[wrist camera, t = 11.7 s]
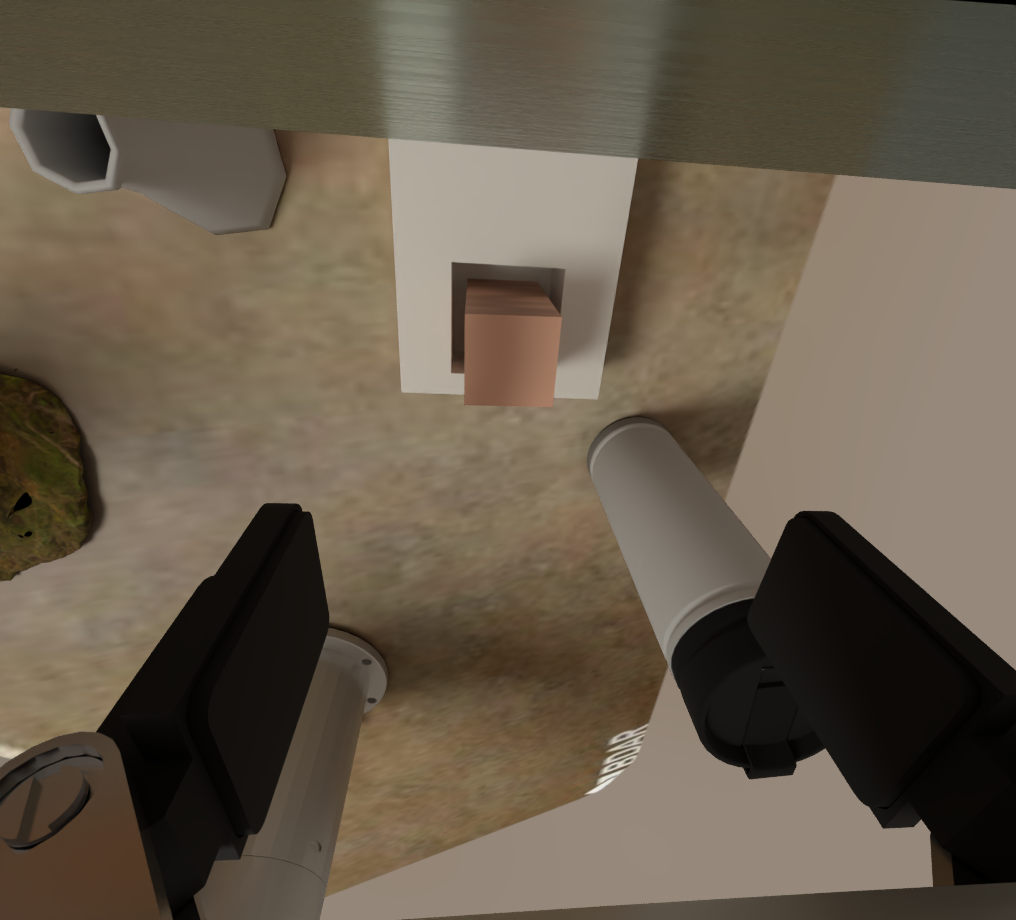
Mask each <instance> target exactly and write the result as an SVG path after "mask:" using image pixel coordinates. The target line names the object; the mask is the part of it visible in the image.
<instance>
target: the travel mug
mask: <svg viewBox="0 0 1016 920" xmlns="http://www.w3.org/2000/svg"><path fill="white" fill-rule="evenodd" d="M587 465H588V470H589V473H590V476H591V478H592V481H593V483H594V485H595V488H596V490H597V493H598V495H599V498H600V500H601V503H602V505H603V508H604V510H605V513H606V515H607V517H608V520H609V522H610V525H611V527H612V530H613V532H614V535H615V537H616V539H617V542H618V544H619V547H620V549H621V552H622V554H623V557H624V559H625V561H626V564H627V566H628V569H629V571H630V574H631V576H632V579H633V581H634V583H635V586H636V588H637V591H638V593H639V596H640V598H641V601H642V603H643V605H644V608H645V610H646V613H647V615H648V618H649V620H650V623H651V625H652V628H653V630H654V632H655V635H656V637H657V640H658V642H659V645H660V647H661V650H662V652H663V654H664V657H665V659H666V660H667V663H668V666H669V669H670V671H671V674H672V676H673V677H674V679H675V680H676V682H677V685H678V687H679V689H680V690H681V694H682V697H683V699H684V702H685V705H686V707H687V709H688V712H689V714H690V716H691V719H692V722H693V724H694V726H695V729H696V731H697V733H698V736H699V739H700V741H701V742H702V744H703V745H704V747H705V748H706V750H707V751H708V752H710V753H711V754H712V755H713V756H714V757H716V758H717V759H719V760H721V761H723V762H725V763H727V764H730V765H733V766H737V767H743V769H744V771H745V773H746V775H747V777H748V778H749V779H758V778H767V777H777V776H787V775H793V773H794V770H795V768H796V762H797V761H801V760H803V759H806V758H808V757H810V756H813V755H815V754H816V753H818V752H820V751H822V750H823V749H825V747H824V745H823V743H822V742H821V740H820V739H819V737H818V736H817V734H816V732H815V731H814V729H813V728H812V726H811V725H810V723H809V721H808V720H807V718H806V717H805V715H804V714H803V712H802V710H801V709H800V707H799V706H798V704H797V703H796V701H795V699H794V698H793V696H792V695H791V693H790V692H789V690H788V689H787V687H786V685H785V684H784V682H783V681H782V679H781V678H780V676H779V674H778V673H777V671H776V670H775V668H774V667H773V665H772V663H771V662H770V660H769V659H768V657H767V656H766V654H765V652H764V651H763V649H762V648H761V646H760V645H759V643H758V641H757V640H756V638H755V637H754V635H753V634H752V632H751V630H750V628H749V625H748V619H747V617H748V612H749V609H750V607H751V604H752V602H753V600H754V598H755V595H756V593H757V591H758V588H759V586H760V584H761V581H762V579H763V577H764V575H765V572H766V570H767V568H768V565H769V563H770V561H771V558H770V557H769V556H768V554H767V553H766V552H765V551H764V550H763V549H762V547H761V546H760V545H759V543H758V542H757V541H756V540H755V538H754V537H753V536H752V535H751V534H750V532H749V531H748V530H747V529H746V527H745V526H744V525H743V524H742V522H741V521H740V520H739V519H738V518H737V516H736V515H735V514H734V512H733V511H732V510H731V509H730V508H729V506H728V505H727V504H726V503H725V501H724V500H723V499H722V498H721V496H720V495H719V494H718V493H717V491H716V490H715V489H714V488H713V486H712V485H711V484H710V483H709V482H708V480H707V479H706V478H705V477H704V475H703V474H702V473H701V472H700V470H699V469H698V468H697V467H696V465H695V464H694V463H693V462H692V461H691V459H690V458H689V457H688V456H687V454H686V453H685V452H684V451H683V449H682V448H681V447H680V446H679V444H678V443H677V442H676V441H675V440H674V438H673V437H672V436H671V435H670V433H669V432H668V431H667V430H666V429H665V427H664V426H662V425H661V424H659V423H658V422H656V421H654V420H651V419H647V418H642V417H633V418H627V419H623V420H620V421H617V422H615V423H613V424H611V425H610V426H608V427H607V428H605V429H604V430H603V431H602V432H601V433H600V434H599V435H598V436H597V437H596V438H595V440H594V441H593V443H592V445H591V447H590V450H589V452H588V458H587Z"/></svg>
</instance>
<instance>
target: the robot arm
mask: <svg viewBox="0 0 1016 920" xmlns="http://www.w3.org/2000/svg"><path fill="white" fill-rule="evenodd" d="M747 619H748V625H749V628H750V630H751V632H752V634H753V635H754V637H755V638H756V640H757V641H758V643H759V645H760V646H761V648H762V649H763V651H764V652H765V654H766V656H767V657H768V659H769V660H770V662H771V663H772V665H773V667H774V668H775V670H776V671H777V673H778V674H779V676H780V678H781V679H782V681H783V682H784V684H785V685H786V687H787V689H788V690H789V692H790V693H791V695H792V696H793V698H794V699H795V701H796V703H797V704H798V706H799V707H800V709H801V710H802V712H803V714H804V715H805V717H806V718H807V720H808V721H809V723H810V725H811V726H812V728H813V729H814V731H815V732H816V734H817V736H818V737H819V739H820V740H821V742H822V743H823V745H824V747H825V748H826V750H827V751H828V753H829V754H830V756H831V757H832V759H833V761H834V762H835V764H836V765H837V767H838V768H839V770H840V772H841V773H842V775H843V776H844V778H845V779H846V781H847V783H848V784H849V786H850V787H851V789H852V790H853V792H854V794H855V795H856V796H857V797H858V799H859V800H860V801H861V802H863V804H865V805H867V806H869V807H870V809H871V811H872V812H873V814H874V815H875V817H876V818H877V820H878V821H879V823H880V824H881V826H882V828H902V827H903V828H904V827H914V826H915V825H916V824H917V823H918V822H919V821H920V820H921V819H922V821H923V822H924V823H925V825H926V826H927V828H928V829H929V830H930V831H931V834H930V841H931V858H932V875H933V887H922V888H904V889H886V890H868V891H849V892H832V893H815V894H800V895H781V896H764V897H748V898H731V899H715V900H698V901H682V902H666V903H649V904H634V905H616V906H600V907H586V908H570V909H555V910H540V911H524V912H511V913H494V914H480V915H464V916H449V917H433V918H419V919H405V920H1016V670H1015V669H1013V668H1012V667H1011V666H1010V665H1009V664H1008V663H1007V662H1005V661H1004V660H1003V659H1002V658H1001V657H1000V656H999V655H997V654H996V653H995V652H994V651H993V650H992V649H990V647H988V646H987V645H986V644H985V643H984V642H982V641H981V640H980V639H979V638H978V637H977V636H976V635H975V634H973V633H972V632H971V631H970V630H969V629H968V628H967V627H966V626H964V625H963V624H962V623H961V622H960V621H959V620H958V619H956V618H955V617H954V616H953V615H952V614H951V613H950V612H948V611H947V610H946V609H945V608H944V607H943V606H941V605H940V604H939V603H938V602H937V601H936V600H935V599H934V598H932V597H931V596H930V595H929V594H928V593H926V591H924V590H923V589H922V588H921V587H920V586H919V585H918V584H916V583H915V582H914V581H913V580H912V579H911V578H910V577H908V576H907V575H906V574H905V573H904V572H903V571H902V570H900V569H899V568H898V567H897V566H896V565H895V564H894V563H892V562H891V561H890V560H889V559H888V558H887V557H886V556H884V555H883V554H882V553H881V552H880V551H879V550H878V549H876V548H875V547H874V546H873V545H872V544H871V543H870V542H868V541H867V540H866V539H865V538H864V537H863V536H862V535H860V534H859V533H858V532H857V531H856V530H855V529H853V527H851V526H850V525H849V524H848V523H847V522H845V520H843V519H842V518H841V517H840V516H839V515H837V514H836V513H834V512H829V511H802V512H799V513H798V514H796V515H795V517H794V518H792V519H791V520H789V521H788V523H787V524H786V526H785V529H784V531H783V533H782V536H781V538H780V540H779V542H778V545H777V547H776V549H775V552H774V554H773V556H772V559H771V561H770V563H769V565H768V568H767V570H766V572H765V575H764V577H763V579H762V581H761V584H760V586H759V588H758V591H757V593H756V595H755V598H754V600H753V602H752V604H751V607H750V609H749V612H748V617H747ZM387 681H388V670H387V667H386V664H385V662H384V660H383V658H382V657H381V655H380V654H379V653H378V652H377V651H376V650H375V649H374V648H373V647H372V646H371V645H370V644H368V643H367V642H365V641H363V640H362V639H360V638H358V637H356V636H354V635H352V634H349V633H347V632H344V631H340V630H337V629H333V628H329V611H328V605H327V599H326V594H325V588H324V582H323V576H322V570H321V565H320V559H319V553H318V547H317V541H316V536H315V530H314V524H313V518H312V515H311V513H310V512H302V508H301V506H300V505H299V504H288V503H266V504H264V505H263V506H262V507H261V508H260V509H259V511H258V512H257V514H256V515H255V517H254V518H253V520H252V521H251V523H250V524H249V525H248V527H247V528H246V530H245V531H244V533H243V534H242V536H241V537H240V539H239V540H238V542H237V543H236V545H235V546H234V547H233V549H232V550H231V552H230V553H229V555H228V556H227V558H226V559H225V561H224V562H223V564H222V565H221V567H220V568H219V569H218V571H217V572H216V574H215V575H214V576H210V577H208V578H206V579H205V580H204V581H203V582H202V583H201V584H200V585H199V586H198V588H197V589H196V591H195V592H194V593H193V595H192V596H191V598H190V599H189V600H188V602H187V603H186V605H185V606H184V608H183V609H182V610H181V612H180V613H179V615H178V616H177V618H176V619H175V620H174V622H173V623H172V625H171V626H170V628H169V629H168V630H167V632H166V633H165V635H164V636H163V637H162V639H161V640H160V642H159V643H158V645H157V646H156V647H155V649H154V650H153V652H152V653H151V655H150V656H149V657H148V659H147V660H146V662H145V663H144V664H143V666H142V667H141V669H140V670H139V672H138V673H137V674H136V676H135V677H134V679H133V680H132V682H131V683H130V684H129V686H128V687H127V689H126V690H125V692H124V693H123V694H122V696H121V697H120V699H119V700H118V701H117V703H116V704H115V706H114V707H113V709H112V710H111V711H110V713H109V714H108V716H107V717H106V719H105V720H104V721H103V723H102V724H101V726H100V727H99V728H98V730H97V731H96V732H76V733H71V734H67V735H62V736H58V737H55V738H53V739H50V740H48V741H45V742H43V743H41V744H38V745H36V746H33V747H31V748H30V749H28V750H26V751H25V752H23V753H21V754H20V755H18V756H16V757H15V758H13V759H11V760H10V761H8V762H7V763H5V764H4V765H3V766H2V767H0V920H320V915H321V910H322V906H323V901H324V896H325V892H326V888H327V883H328V878H329V874H330V869H331V864H332V859H333V855H334V850H335V845H336V841H337V836H338V831H339V827H340V822H341V817H342V813H343V808H344V803H345V798H346V794H347V789H348V784H349V780H350V775H351V770H352V766H353V761H354V756H355V751H356V747H357V742H358V737H359V733H360V728H361V723H362V719H363V714H365V713H367V712H368V711H370V710H372V709H373V708H374V707H375V706H376V705H377V704H378V703H379V702H380V701H381V699H382V698H383V696H384V694H385V691H386V687H387Z"/></svg>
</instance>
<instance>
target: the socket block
mask: <svg viewBox="0 0 1016 920" xmlns="http://www.w3.org/2000/svg"><path fill="white" fill-rule="evenodd" d="M388 139H389V138H388ZM389 159H390V178H391V198H392V217H393V236H394V256H395V275H396V294H397V314H398V333H399V353H400V372H401V391H402V392H407V393H435V394H463V395H464V362H465V304H466V292H467V279H491V280H515V281H537V282H538V284H539V285H540V287H541V288H542V289H543V291H544V292H545V294H546V295H547V297H548V298H549V299H550V301H551V302H552V304H553V305H554V306H555V308H556V309H557V311H558V312H559V314H560V315H561V316H562V322H561V332H560V342H559V351H558V361H557V371H556V380H555V390H554V398H575V399H598V395H599V389H600V383H601V377H602V371H603V365H604V359H605V353H606V347H607V341H608V335H609V329H610V323H611V317H612V312H613V306H614V300H615V294H616V288H617V282H618V276H619V270H620V264H621V258H622V252H623V246H624V240H625V234H626V228H627V222H628V216H629V210H630V204H631V198H632V192H633V186H634V180H635V174H636V168H637V162H638V159H637V158H625V157H613V156H600V155H588V154H575V153H563V152H550V151H538V150H526V149H513V148H501V147H488V146H476V145H463V144H451V143H439V142H426V141H414V140H401V139H389Z"/></svg>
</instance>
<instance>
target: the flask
mask: <svg viewBox="0 0 1016 920" xmlns="http://www.w3.org/2000/svg"><path fill="white" fill-rule="evenodd" d="M9 126H10V128H11V129H12V131H13V133H14V135H15V137H16V139H17V141H18V143H19V145H20V147H21V149H22V151H23V153H24V155H25V157H26V159H27V161H28V163H29V165H30V166H31V168H32V170H33V171H34V172H36V173H38V174H40V175H42V176H43V177H45V178H47V179H49V180H51V181H53V182H55V183H57V184H59V185H61V186H62V187H64V188H66V189H68V190H70V191H72V192H74V193H76V194H85V193H94V192H103V191H113V190H118V189H120V188H121V187H122V188H125V189H128V190H132V191H135V192H139V193H142V194H144V195H145V196H147V197H148V198H150V199H151V200H153V201H155V202H156V203H158V204H160V205H162V206H164V207H166V208H167V209H169V210H171V211H173V212H175V213H177V214H178V215H180V216H182V217H184V218H186V219H187V220H189V221H191V222H193V223H195V224H197V225H198V226H200V227H202V228H204V229H206V230H207V231H209V232H211V233H213V234H215V235H221V234H230V233H239V232H248V231H257V230H266V229H269V227H270V224H271V221H272V218H273V215H274V212H275V209H276V206H277V203H278V200H279V197H280V194H281V191H282V188H283V185H284V182H285V179H286V173H285V169H284V166H283V162H282V159H281V155H280V152H279V148H278V145H277V141H276V137H275V134H274V130H273V129H265V128H252V127H240V126H227V125H215V124H203V123H190V122H178V121H165V120H153V119H140V118H128V117H116V116H103V115H91V114H78V113H66V112H53V111H41V110H29V109H16V108H10V118H9Z"/></svg>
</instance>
